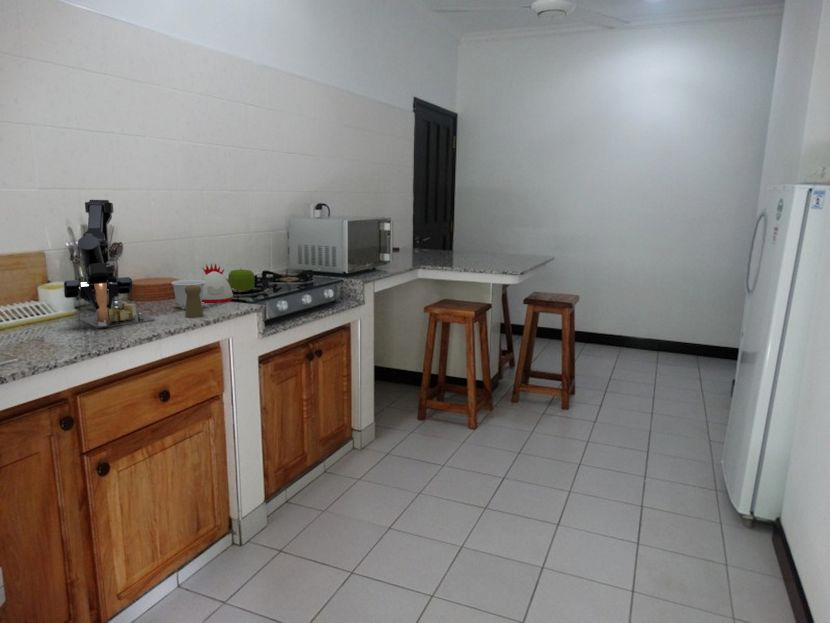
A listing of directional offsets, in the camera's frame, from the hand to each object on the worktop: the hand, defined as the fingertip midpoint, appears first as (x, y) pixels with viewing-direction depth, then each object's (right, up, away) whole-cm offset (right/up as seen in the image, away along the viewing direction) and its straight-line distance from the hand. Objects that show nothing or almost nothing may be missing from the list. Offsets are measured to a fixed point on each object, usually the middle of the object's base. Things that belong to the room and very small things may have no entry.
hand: (103, 308), depth 177 cm
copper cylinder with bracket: (-3, -4, +10) cm, 11 cm away
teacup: (+13, 0, +36) cm, 38 cm away
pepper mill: (+19, -3, +24) cm, 31 cm away
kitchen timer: (+16, +3, +54) cm, 57 cm away
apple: (+21, +7, +74) cm, 77 cm away
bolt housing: (-3, -4, +15) cm, 16 cm away
